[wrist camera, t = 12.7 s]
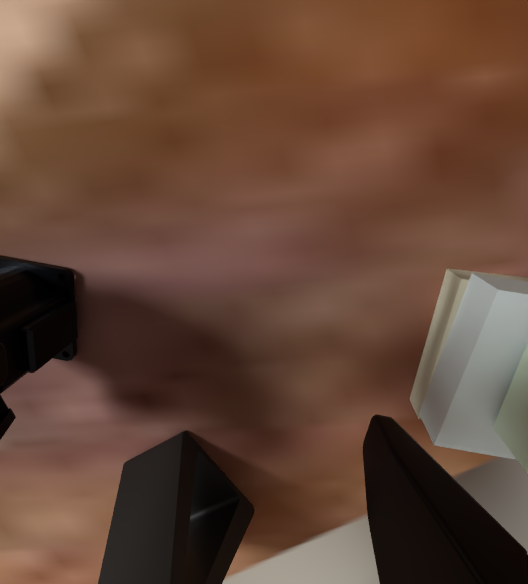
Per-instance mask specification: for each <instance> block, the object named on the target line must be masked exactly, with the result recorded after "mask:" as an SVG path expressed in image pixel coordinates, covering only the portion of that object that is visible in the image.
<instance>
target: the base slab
mask: <svg viewBox="0 0 528 584" xmlns="http://www.w3.org/2000/svg"><path fill="white" fill-rule="evenodd" d="M472 273H476V274H482V275H488V276H494V277H501V278H507V279H513V280H519V281H526V282H528V277H519V276H510V275H501V274H492V273H483V272H474V271H464V270H455V269H447V270H446V273H445V277H444V280H443V284H442V287H441V291H440V294H439V298H438V301H437V305H436V308H435V312H434V315H433V319H432V322H431V326H430V329H429V333H428V336H427V340H426V343H425V347H424V350H423V354H422V357H421V361H420V364H419V368H418V371H417V375H416V378H415V382H414V385H413V388H412V392H411V395H410V399H409V400H410V402H411V404H412V406H413V408H414V411H415V413H416V415H417V417H418V419H421V417H420V415H419V412H420V409H421V407H422V404H423V402H424V399H425V396H426V394H427V391H428V388H429V386H430V383H431V380H432V378H433V375H434V372H435V370H436V367H437V364H438V362H439V359H440V356H441V354H442V351H443V348H444V346H445V343H446V340H447V338H448V335H449V332H450V330H451V327H452V324H453V322H454V319H455V316H456V314H457V311H458V308H459V306H460V303H461V300H462V298H463V295H464V293H465V290H466V287H467V285H468V282H469V279H470V277H471V274H472Z"/></svg>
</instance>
